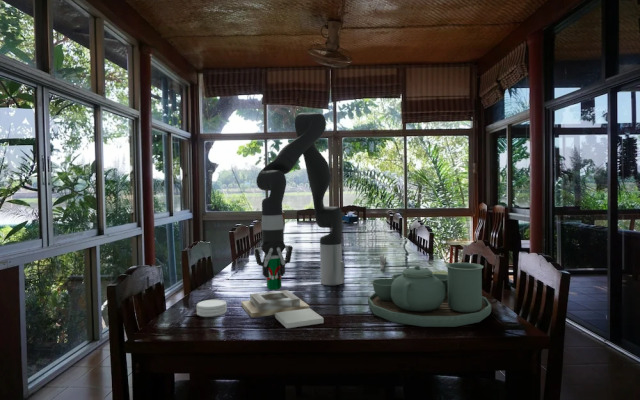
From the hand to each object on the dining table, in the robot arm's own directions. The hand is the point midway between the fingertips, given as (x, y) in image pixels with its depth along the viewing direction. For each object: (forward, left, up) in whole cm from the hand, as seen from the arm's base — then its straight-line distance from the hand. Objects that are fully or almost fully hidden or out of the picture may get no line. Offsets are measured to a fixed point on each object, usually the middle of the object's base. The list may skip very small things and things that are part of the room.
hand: (274, 276), depth 153 cm
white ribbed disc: (+21, -4, -12) cm, 24 cm away
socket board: (0, 0, -11) cm, 11 cm away
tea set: (-46, +24, -12) cm, 54 cm away
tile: (-3, +17, -11) cm, 21 cm away
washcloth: (-75, -12, -12) cm, 77 cm away
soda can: (0, 0, -5) cm, 5 cm away
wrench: (-72, -49, -12) cm, 88 cm away
